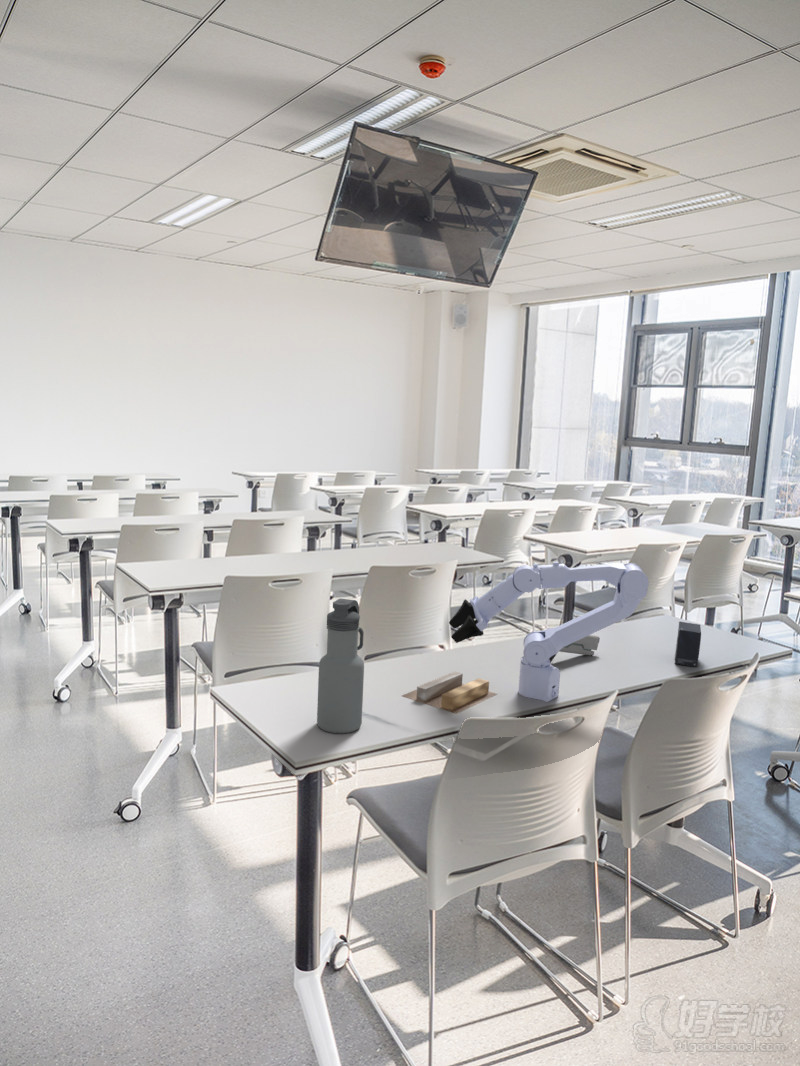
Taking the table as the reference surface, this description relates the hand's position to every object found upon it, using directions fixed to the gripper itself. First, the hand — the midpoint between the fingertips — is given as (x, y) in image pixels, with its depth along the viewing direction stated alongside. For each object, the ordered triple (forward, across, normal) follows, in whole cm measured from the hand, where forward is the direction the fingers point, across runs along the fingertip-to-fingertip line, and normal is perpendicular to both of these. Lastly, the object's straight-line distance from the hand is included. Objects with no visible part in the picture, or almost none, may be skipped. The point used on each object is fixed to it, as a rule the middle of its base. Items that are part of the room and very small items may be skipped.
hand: (452, 632), depth 202 cm
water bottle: (+26, +28, -11) cm, 40 cm away
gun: (-13, -25, +40) cm, 49 cm away
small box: (-39, -28, +65) cm, 80 cm away
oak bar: (+6, +13, +10) cm, 17 cm away
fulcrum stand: (+9, +10, +9) cm, 16 cm away
